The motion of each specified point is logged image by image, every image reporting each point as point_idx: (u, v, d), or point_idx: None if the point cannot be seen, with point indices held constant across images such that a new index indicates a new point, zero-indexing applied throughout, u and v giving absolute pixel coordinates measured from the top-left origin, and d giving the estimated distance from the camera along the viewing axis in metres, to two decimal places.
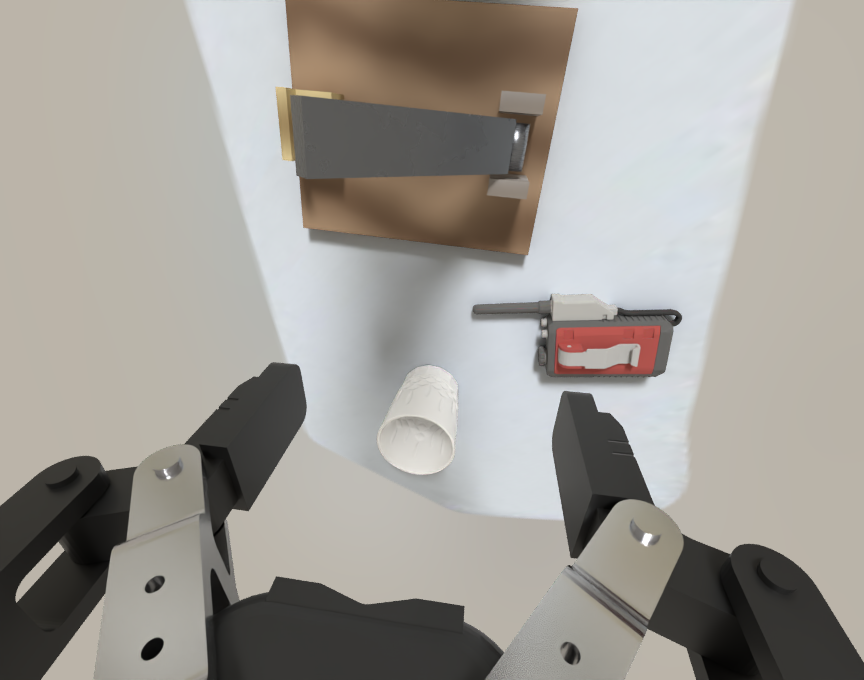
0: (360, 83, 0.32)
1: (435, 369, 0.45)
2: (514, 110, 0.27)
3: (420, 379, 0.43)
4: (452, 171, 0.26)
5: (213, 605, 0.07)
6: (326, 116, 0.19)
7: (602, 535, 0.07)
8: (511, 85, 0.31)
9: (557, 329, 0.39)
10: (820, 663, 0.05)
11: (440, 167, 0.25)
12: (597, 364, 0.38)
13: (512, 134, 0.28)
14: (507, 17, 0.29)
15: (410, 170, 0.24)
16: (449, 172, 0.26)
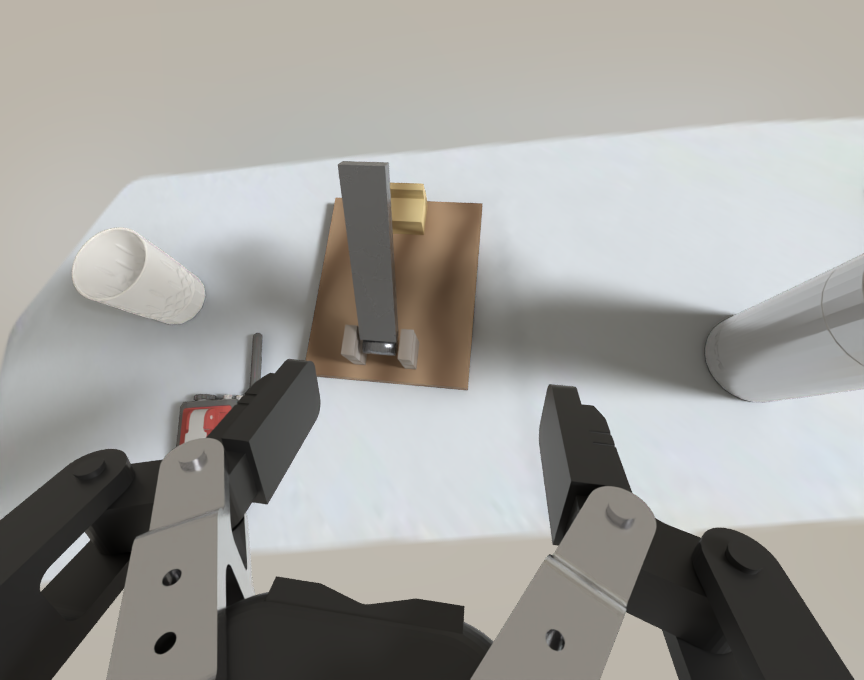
0: (430, 246, 0.46)
1: (199, 301, 0.47)
2: (401, 339, 0.38)
3: (188, 282, 0.45)
4: (355, 287, 0.35)
5: (228, 600, 0.07)
6: (376, 183, 0.30)
7: (580, 523, 0.07)
8: (425, 348, 0.43)
9: (230, 406, 0.42)
10: (786, 638, 0.06)
11: (357, 275, 0.35)
12: None
13: (386, 340, 0.38)
14: (464, 342, 0.42)
15: (352, 249, 0.33)
16: (355, 284, 0.35)
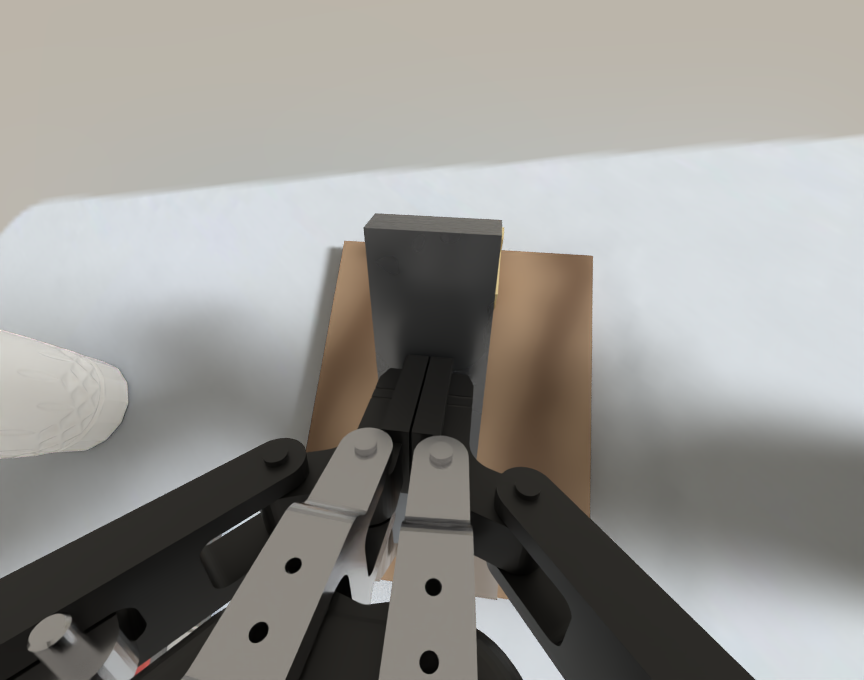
0: (506, 330, 0.27)
1: (116, 414, 0.28)
2: None
3: (90, 391, 0.26)
4: None
5: None
6: (469, 278, 0.11)
7: (415, 480, 0.08)
8: None
9: None
10: (571, 538, 0.07)
11: None
12: None
13: None
14: None
15: None
16: None
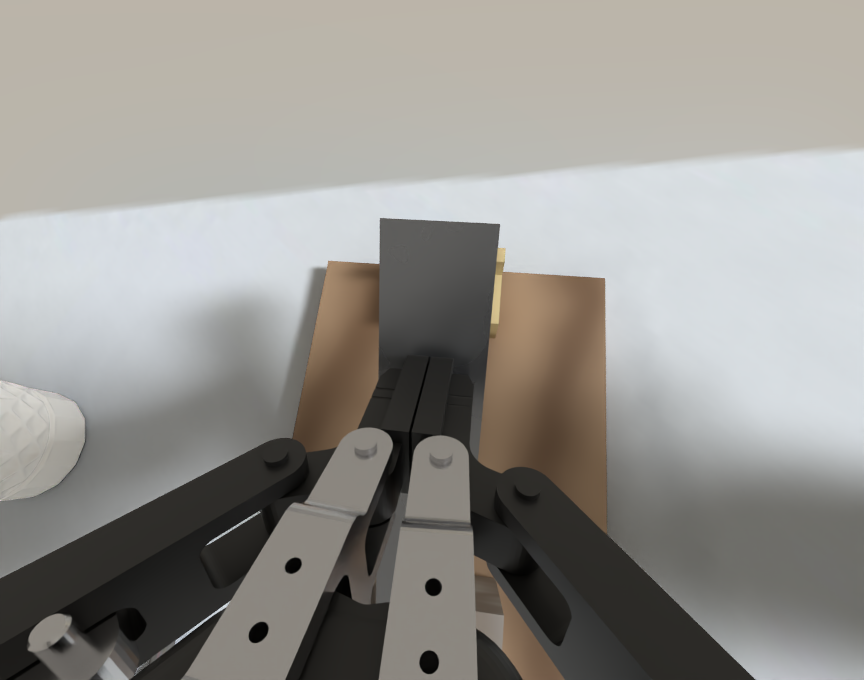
0: (508, 362, 0.24)
1: (69, 455, 0.25)
2: None
3: (36, 433, 0.23)
4: None
5: None
6: (471, 266, 0.12)
7: (415, 480, 0.08)
8: None
9: None
10: (571, 537, 0.07)
11: None
12: None
13: None
14: None
15: None
16: None
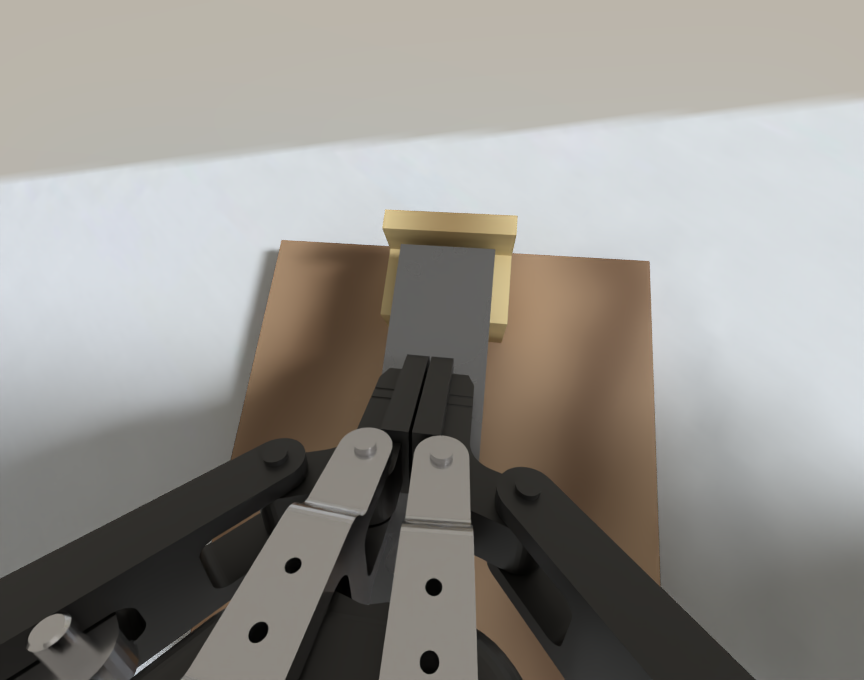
0: (519, 376, 0.17)
1: None
2: None
3: None
4: None
5: None
6: (472, 279, 0.14)
7: (415, 480, 0.08)
8: None
9: None
10: (572, 538, 0.07)
11: None
12: None
13: None
14: None
15: None
16: None
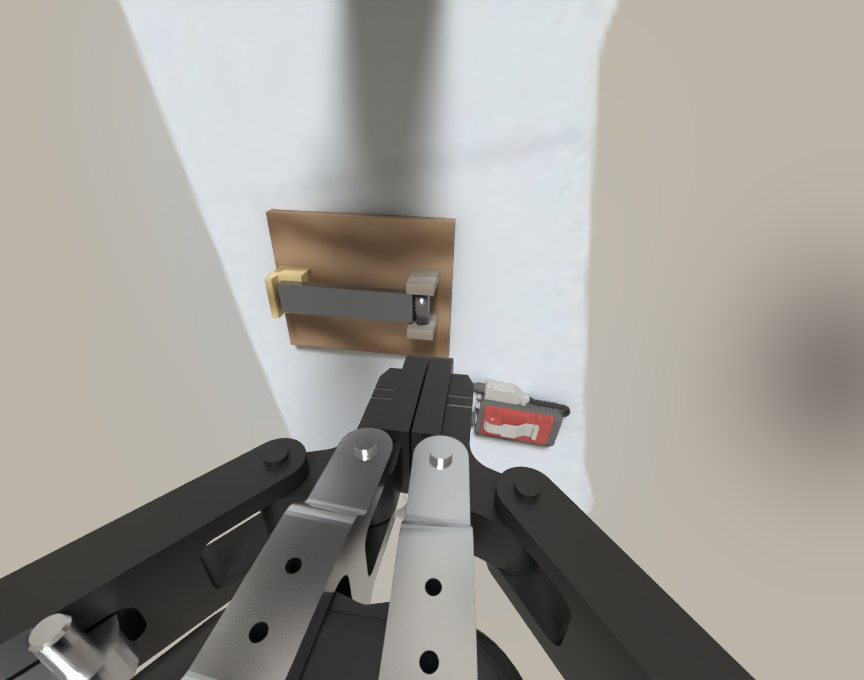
0: (320, 261, 0.48)
1: None
2: (415, 293, 0.43)
3: None
4: (364, 317, 0.46)
5: None
6: (288, 290, 0.46)
7: (415, 480, 0.08)
8: (419, 262, 0.46)
9: (486, 406, 0.54)
10: (571, 538, 0.07)
11: (354, 314, 0.46)
12: (509, 435, 0.54)
13: (410, 302, 0.44)
14: (410, 226, 0.44)
15: (334, 313, 0.47)
16: (361, 317, 0.46)
